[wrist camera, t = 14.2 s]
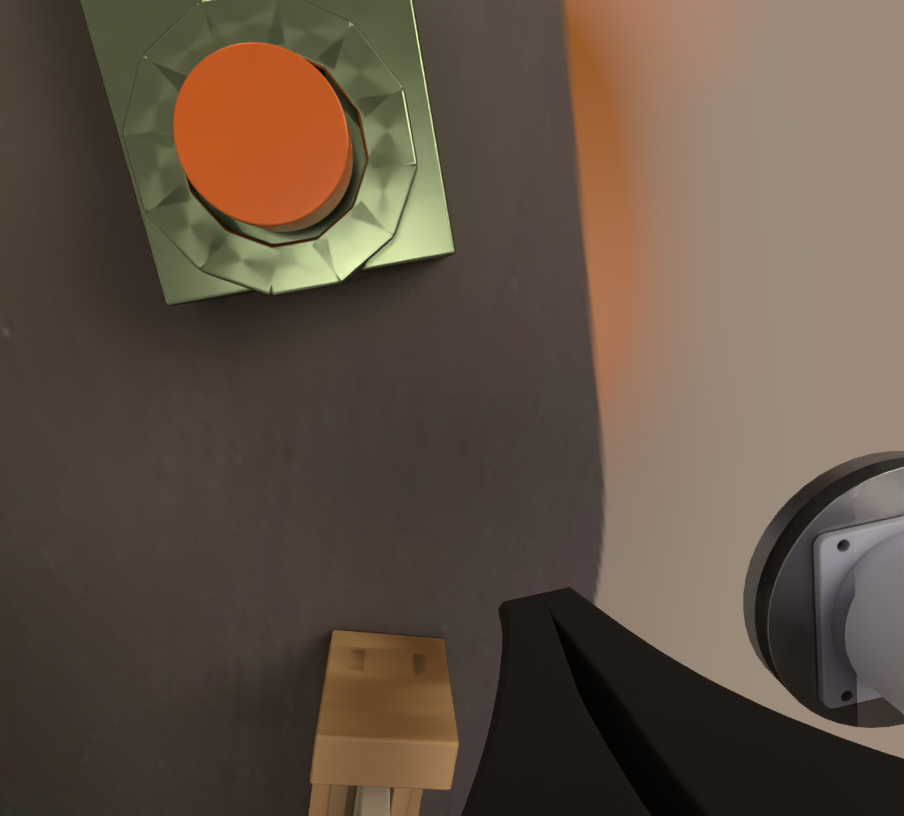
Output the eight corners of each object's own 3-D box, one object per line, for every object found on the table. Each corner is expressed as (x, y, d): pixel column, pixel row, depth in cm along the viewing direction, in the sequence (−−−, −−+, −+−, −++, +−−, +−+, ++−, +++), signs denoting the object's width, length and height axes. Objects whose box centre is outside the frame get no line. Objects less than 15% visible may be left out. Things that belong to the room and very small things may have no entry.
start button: (180, 83, 14) (149, 55, 12) (335, 59, 14) (327, 28, 12) (221, 243, 14) (199, 239, 13) (367, 218, 15) (364, 210, 13)
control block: (88, -72, 16) (-11, -187, 12) (384, -114, 16) (383, -237, 12) (194, 311, 18) (140, 320, 14) (450, 264, 19) (466, 261, 15)
